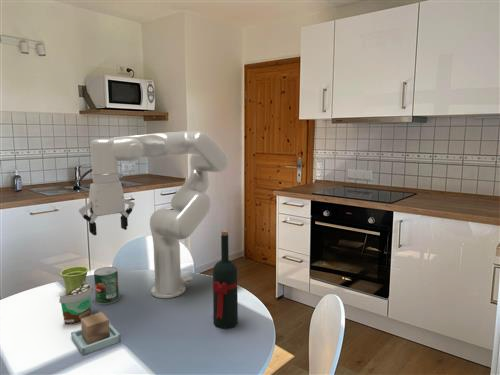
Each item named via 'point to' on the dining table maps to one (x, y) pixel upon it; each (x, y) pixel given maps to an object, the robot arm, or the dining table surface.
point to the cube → (95, 328)
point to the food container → (76, 304)
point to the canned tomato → (106, 285)
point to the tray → (86, 349)
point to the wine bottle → (225, 289)
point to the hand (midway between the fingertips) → (109, 231)
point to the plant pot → (74, 277)
